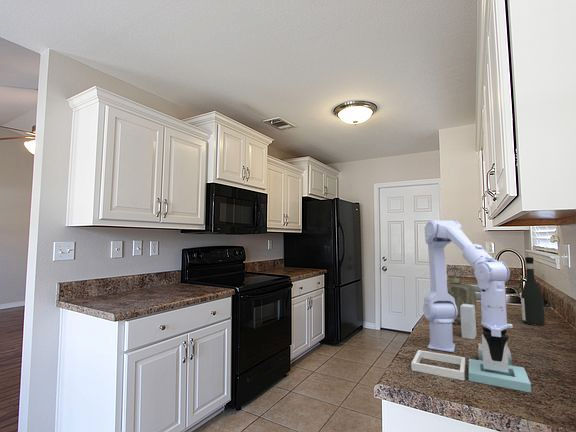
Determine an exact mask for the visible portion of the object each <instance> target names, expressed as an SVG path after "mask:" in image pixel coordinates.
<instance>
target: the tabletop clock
mask: <svg viewBox="0 0 576 432" xmlns="http://www.w3.org/2000/svg"><path fill="white" fill-rule="evenodd" d="M451 270H458V271H460V272H461V274H460V275H457V274H456V273H453V275H452V274H450V273H449V271H451ZM446 275H448V276H450V277H452V278H450V279H449V281H448V282H447V291H448V294H450V295H451V296H452V297H453V298H454V299H455V304H456V307H457V310H458V315H457V318H461V315H460V306H461V305H462V304H470V305H475V313H476V311H477V295H476V290H475V287H474V286H473V285H471V284H468V283H463V282H462V280H461V279H460V278H459V277H462V276H463V275H464V272H463V270H462V269H461V268H458V267H450V268H447V269H446ZM436 302H445V301H436ZM457 318H456V319H455V320H454V322H452V324H453V325H455V324H456V325H458V321H457Z"/></svg>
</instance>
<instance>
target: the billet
mask: <svg viewBox="0 0 576 432" xmlns="http://www.w3.org/2000/svg"><path fill="white" fill-rule="evenodd" d="M481 344H482V350H483V367H484V369H489V370H494V371H500V372H506V373H509V369H508V352H507V347H508V341H507V342H506V344H505V347H504V352H503V358H502V362H499V361H493V360H492V358H491V355H490V350H489V346H488V343H487V341H486V339H485V337H484V335H483V333H481Z"/></svg>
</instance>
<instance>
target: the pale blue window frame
mask: <svg viewBox="0 0 576 432" xmlns="http://www.w3.org/2000/svg"><path fill="white" fill-rule="evenodd" d="M508 369H509V373H506V372H500V371H494V370H489V369H484V367H483V361H481V360H479V359H473V358H469V359H468V381H469V382H473V383H479V384H483V385H484V384H485V385H489V386H495V387H500V388H503V389H504V388H506V389H510V390H516V391H521V392H525V393H526V392H527V393H532V384H531V381H530V379H529V377H528V373H527V372H526V370H525V368H524V366H523V367H522V366H517V365H508Z"/></svg>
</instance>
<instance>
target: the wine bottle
mask: <svg viewBox="0 0 576 432" xmlns="http://www.w3.org/2000/svg"><path fill="white" fill-rule="evenodd" d="M524 260H525V266H526V268H525V269H526V279H525V283H524V285H523V288H522V289H521V293H520V295H521V296H520V302H521V303H520V305H521V318H522V322H523V323H524V324H526V323H527V324H526V325H529V324H536V325H541V326H543V325H542V324H544V325H545V324H546V321H545V319H546V318H545V307H544V306H545V305H544V297H543V293H542V291H541V289H540V288H539V285H538V283H537V282H536V279H535V270H534V268H535V267H534V257H532V256H531V257H530V256H526V257H525V259H524ZM536 325H535V326H536Z"/></svg>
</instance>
